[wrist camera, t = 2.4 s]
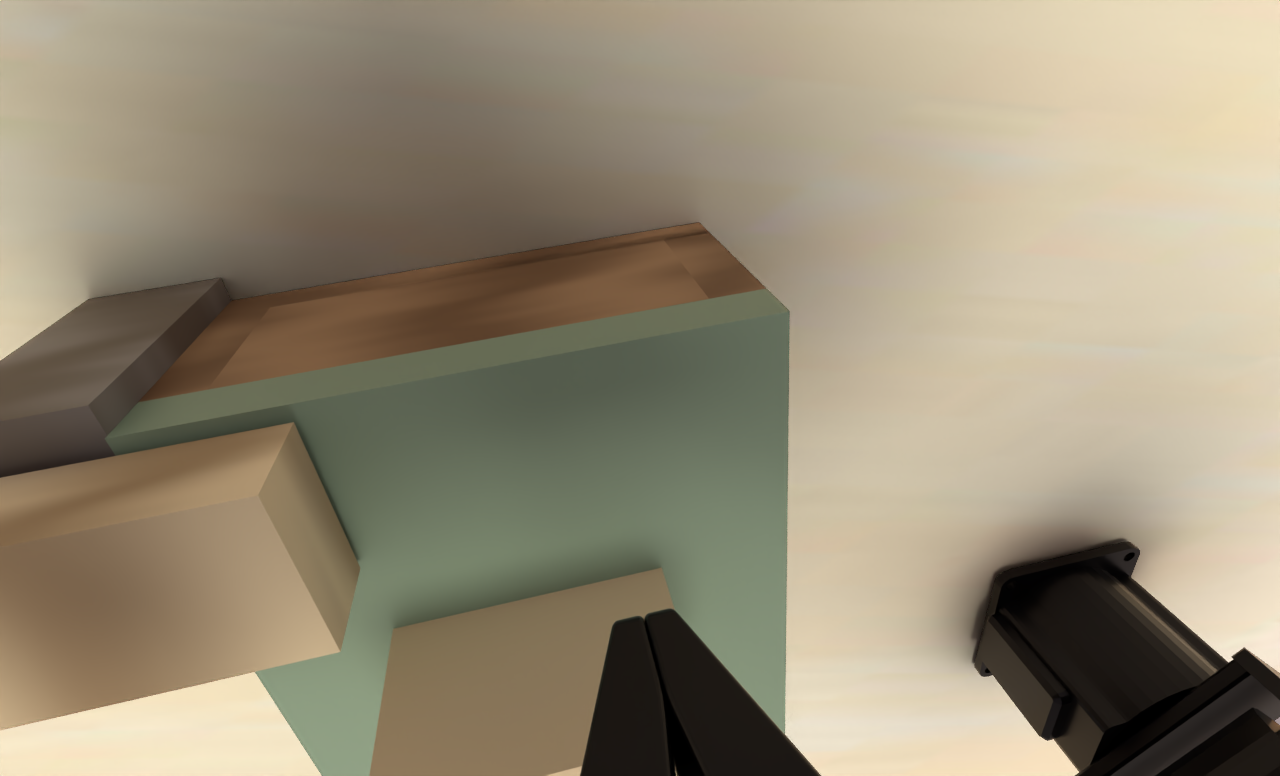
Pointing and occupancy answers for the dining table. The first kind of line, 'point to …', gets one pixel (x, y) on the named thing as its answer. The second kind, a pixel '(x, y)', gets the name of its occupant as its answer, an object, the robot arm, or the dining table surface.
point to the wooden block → (166, 572)
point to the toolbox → (324, 330)
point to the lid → (528, 526)
